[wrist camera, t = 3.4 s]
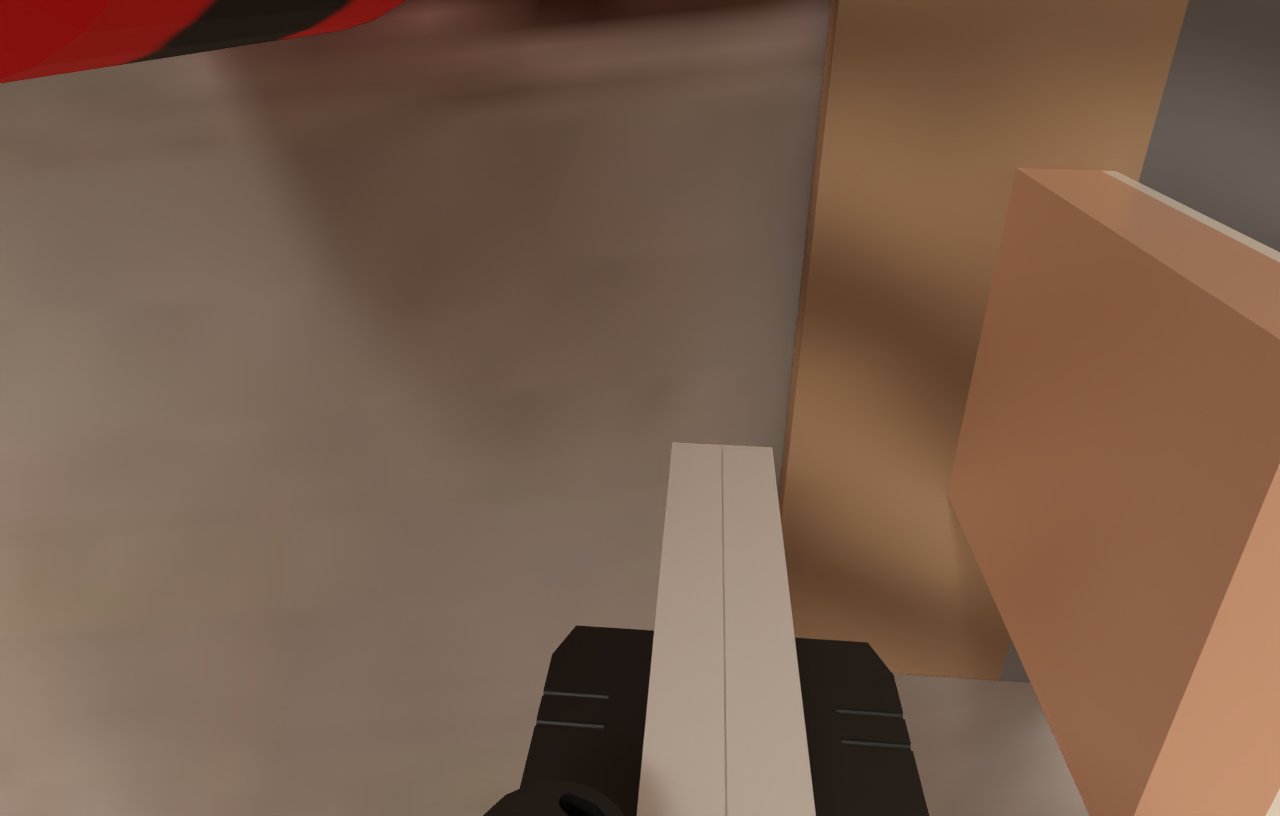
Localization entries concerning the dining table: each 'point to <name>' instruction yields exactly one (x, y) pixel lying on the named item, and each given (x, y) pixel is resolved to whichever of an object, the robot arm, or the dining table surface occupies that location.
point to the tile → (1134, 489)
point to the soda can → (156, 29)
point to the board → (973, 264)
